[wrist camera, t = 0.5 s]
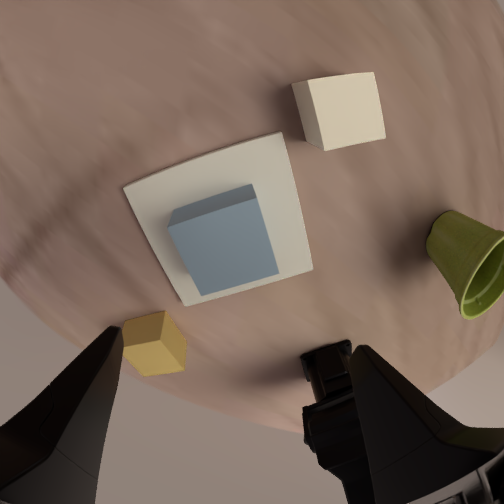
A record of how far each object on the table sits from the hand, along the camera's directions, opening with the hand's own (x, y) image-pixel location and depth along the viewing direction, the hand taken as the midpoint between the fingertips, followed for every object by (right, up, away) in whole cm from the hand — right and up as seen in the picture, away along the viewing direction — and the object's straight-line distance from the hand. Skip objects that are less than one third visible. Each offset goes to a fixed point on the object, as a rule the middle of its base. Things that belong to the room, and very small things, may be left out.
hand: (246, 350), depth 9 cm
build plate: (-2, +5, +12) cm, 13 cm away
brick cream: (+6, +14, +8) cm, 17 cm away
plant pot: (+21, +5, +15) cm, 27 cm away
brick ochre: (-10, -5, +18) cm, 21 cm away
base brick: (-2, +5, +12) cm, 13 cm away
